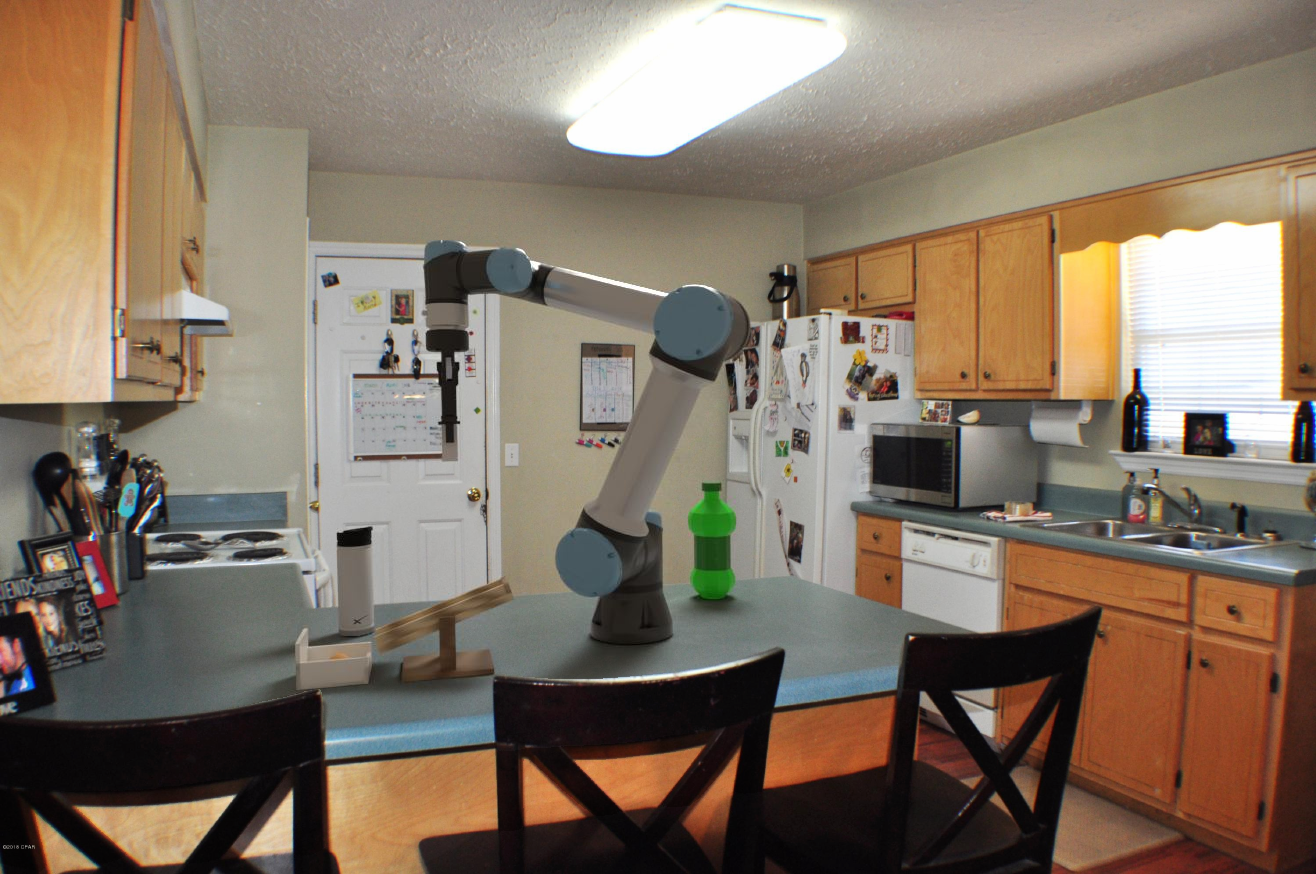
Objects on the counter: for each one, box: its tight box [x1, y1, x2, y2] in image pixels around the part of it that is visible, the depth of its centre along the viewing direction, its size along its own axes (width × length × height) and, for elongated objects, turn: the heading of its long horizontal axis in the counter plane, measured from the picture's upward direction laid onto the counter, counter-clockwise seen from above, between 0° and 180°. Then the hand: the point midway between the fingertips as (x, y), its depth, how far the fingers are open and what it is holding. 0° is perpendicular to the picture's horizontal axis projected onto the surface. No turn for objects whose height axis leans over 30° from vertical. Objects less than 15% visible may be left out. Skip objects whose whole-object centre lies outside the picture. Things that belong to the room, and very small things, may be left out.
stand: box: [401, 615, 495, 683], centre depth 138 cm, size 14×11×9 cm
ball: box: [329, 653, 348, 660], centre depth 134 cm, size 3×3×3 cm
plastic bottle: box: [687, 481, 737, 600], centre depth 186 cm, size 10×10×25 cm
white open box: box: [294, 627, 373, 691], centre depth 133 cm, size 10×9×7 cm
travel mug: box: [336, 525, 375, 637], centre depth 159 cm, size 6×7×20 cm
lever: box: [373, 576, 515, 655], centre depth 141 cm, size 22×12×3 cm, turn 105°
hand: (450, 460), depth 153 cm, fingers closed
